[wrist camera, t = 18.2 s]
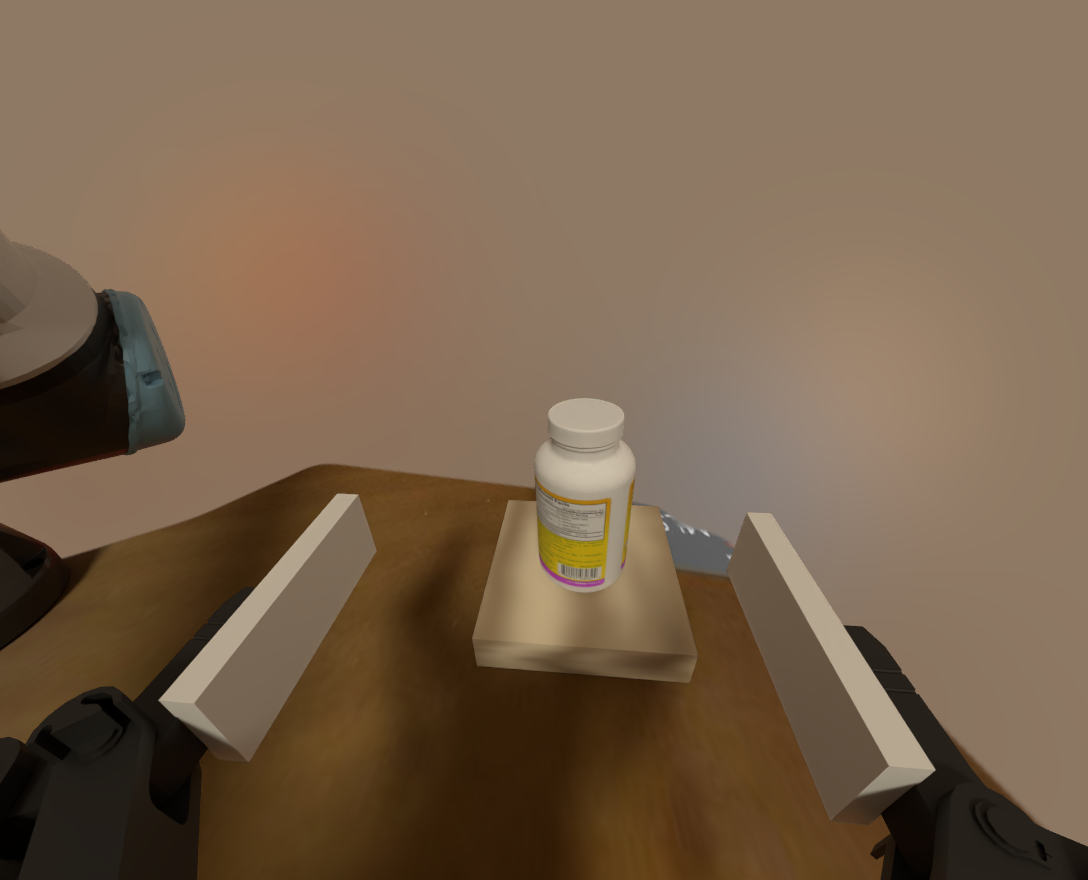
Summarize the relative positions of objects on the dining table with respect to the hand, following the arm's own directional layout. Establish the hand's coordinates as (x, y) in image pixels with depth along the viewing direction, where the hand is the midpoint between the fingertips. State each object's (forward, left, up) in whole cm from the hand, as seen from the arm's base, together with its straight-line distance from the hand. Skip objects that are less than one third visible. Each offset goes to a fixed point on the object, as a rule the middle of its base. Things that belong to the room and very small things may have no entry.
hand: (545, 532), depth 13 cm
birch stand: (+2, +11, -17) cm, 20 cm away
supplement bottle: (+2, +11, -14) cm, 18 cm away
